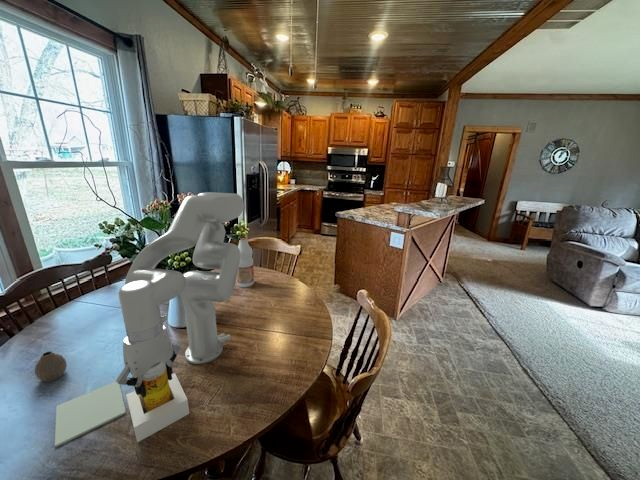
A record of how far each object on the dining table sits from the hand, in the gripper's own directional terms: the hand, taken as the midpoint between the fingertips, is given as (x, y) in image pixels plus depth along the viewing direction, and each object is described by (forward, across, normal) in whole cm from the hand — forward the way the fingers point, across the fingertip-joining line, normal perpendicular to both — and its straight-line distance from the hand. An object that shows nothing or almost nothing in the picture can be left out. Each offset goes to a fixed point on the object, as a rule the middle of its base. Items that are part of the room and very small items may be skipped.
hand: (155, 385), depth 72 cm
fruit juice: (+10, -67, -41) cm, 79 cm away
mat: (+9, +11, -15) cm, 20 cm away
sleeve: (+9, 0, 0) cm, 9 cm away
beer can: (+7, 0, 0) cm, 7 cm away
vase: (+9, +13, -38) cm, 41 cm away
